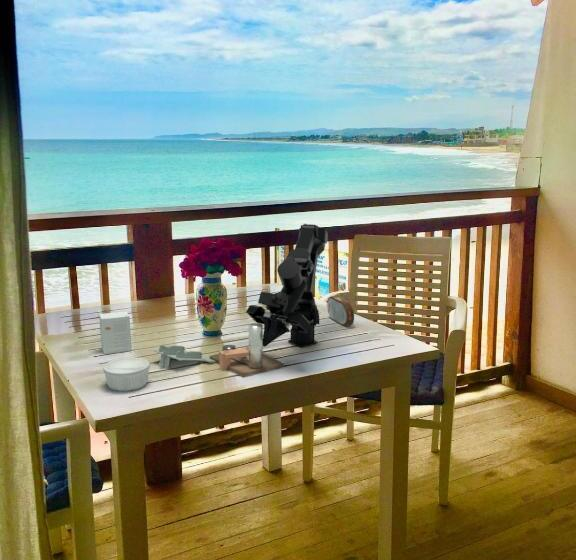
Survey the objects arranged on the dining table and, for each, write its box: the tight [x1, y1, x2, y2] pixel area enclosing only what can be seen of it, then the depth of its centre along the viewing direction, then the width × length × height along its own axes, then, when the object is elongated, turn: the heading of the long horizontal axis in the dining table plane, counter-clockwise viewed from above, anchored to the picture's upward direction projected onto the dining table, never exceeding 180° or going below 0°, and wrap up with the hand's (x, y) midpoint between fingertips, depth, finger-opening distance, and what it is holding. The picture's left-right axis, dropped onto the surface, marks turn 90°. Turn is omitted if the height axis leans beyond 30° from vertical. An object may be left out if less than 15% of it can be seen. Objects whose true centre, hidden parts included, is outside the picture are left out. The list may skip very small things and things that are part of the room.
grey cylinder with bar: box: [221, 323, 264, 368], centre depth 172 cm, size 16×4×11 cm, turn 41°
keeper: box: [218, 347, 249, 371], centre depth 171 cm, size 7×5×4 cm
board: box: [209, 346, 285, 378], centre depth 175 cm, size 13×17×1 cm
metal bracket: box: [152, 344, 217, 370], centre depth 176 cm, size 14×6×15 cm
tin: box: [327, 294, 355, 327], centre depth 212 cm, size 15×3×8 cm, turn 22°
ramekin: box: [102, 356, 151, 392], centre depth 159 cm, size 11×11×5 cm
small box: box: [98, 311, 132, 355], centre depth 184 cm, size 8×6×10 cm
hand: (263, 345), depth 168 cm, fingers closed, pressing on grey cylinder with bar
